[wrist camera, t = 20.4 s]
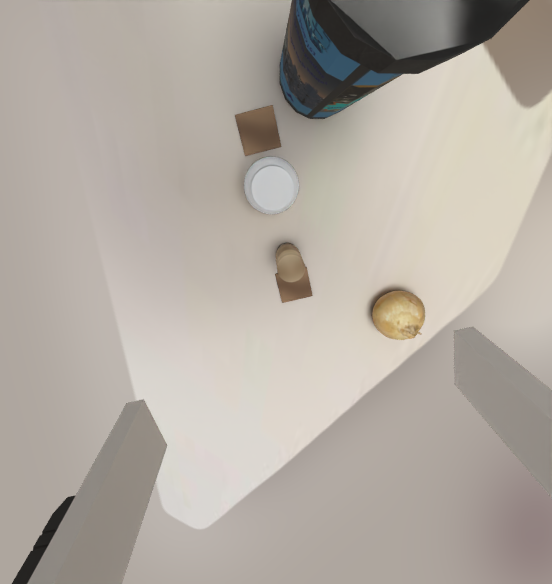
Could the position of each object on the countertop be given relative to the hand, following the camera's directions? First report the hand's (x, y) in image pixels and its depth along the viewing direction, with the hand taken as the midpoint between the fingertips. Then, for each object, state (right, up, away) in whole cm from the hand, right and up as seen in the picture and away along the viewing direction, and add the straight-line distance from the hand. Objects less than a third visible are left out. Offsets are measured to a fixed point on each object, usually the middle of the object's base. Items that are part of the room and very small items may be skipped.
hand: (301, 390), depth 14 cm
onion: (+18, +2, +40) cm, 44 cm away
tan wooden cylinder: (+1, +10, +35) cm, 37 cm away
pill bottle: (-2, +20, +32) cm, 37 cm away
